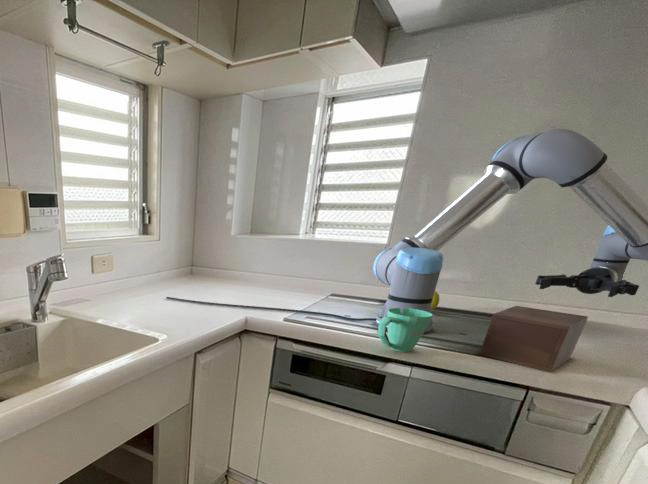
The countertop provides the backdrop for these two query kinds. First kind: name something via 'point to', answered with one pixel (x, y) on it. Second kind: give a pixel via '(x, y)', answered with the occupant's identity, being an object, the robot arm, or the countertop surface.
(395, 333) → the mug
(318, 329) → the countertop surface
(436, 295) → the lemon
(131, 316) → the countertop surface
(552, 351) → the cabinet
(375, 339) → the countertop surface
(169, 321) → the countertop surface
